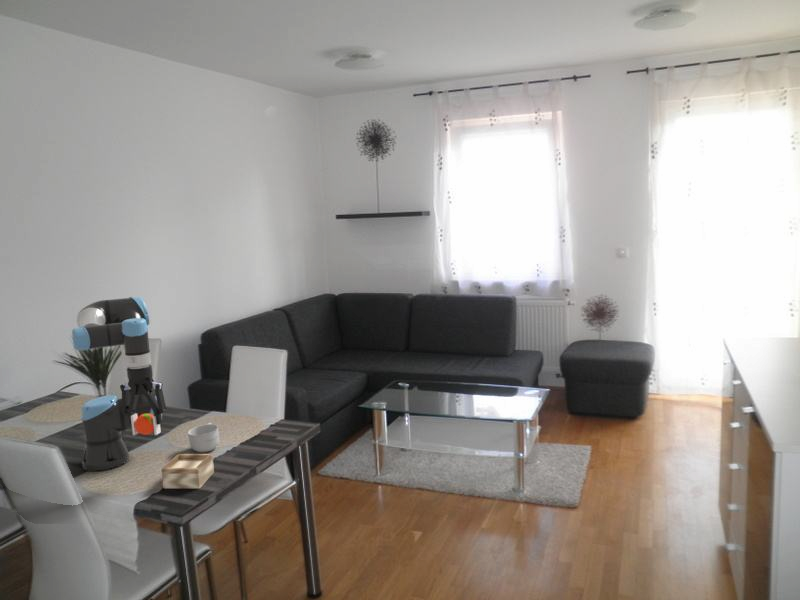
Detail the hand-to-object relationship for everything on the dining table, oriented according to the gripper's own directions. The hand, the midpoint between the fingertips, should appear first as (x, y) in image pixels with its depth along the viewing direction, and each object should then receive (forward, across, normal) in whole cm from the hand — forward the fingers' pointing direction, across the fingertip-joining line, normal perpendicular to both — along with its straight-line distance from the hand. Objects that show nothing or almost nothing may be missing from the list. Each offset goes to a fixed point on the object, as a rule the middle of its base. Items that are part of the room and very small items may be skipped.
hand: (146, 433), depth 208 cm
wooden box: (+16, +14, -2) cm, 21 cm away
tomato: (+1, 0, 0) cm, 1 cm away
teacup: (+15, +8, +25) cm, 31 cm away
